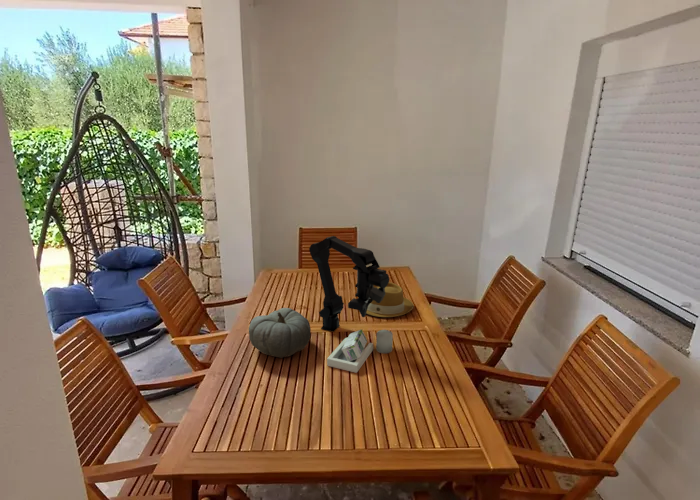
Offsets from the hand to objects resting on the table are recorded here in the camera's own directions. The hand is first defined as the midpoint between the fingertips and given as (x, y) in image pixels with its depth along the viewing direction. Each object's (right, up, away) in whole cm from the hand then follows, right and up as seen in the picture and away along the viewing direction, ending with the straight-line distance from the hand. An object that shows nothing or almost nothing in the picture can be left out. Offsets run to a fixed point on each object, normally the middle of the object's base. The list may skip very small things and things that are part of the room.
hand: (363, 316), depth 169 cm
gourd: (-33, -12, -2) cm, 36 cm away
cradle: (-5, -14, -8) cm, 17 cm away
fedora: (+12, -1, +37) cm, 38 cm away
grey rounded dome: (+8, -13, -2) cm, 15 cm away
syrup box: (-2, -8, -1) cm, 8 cm away
